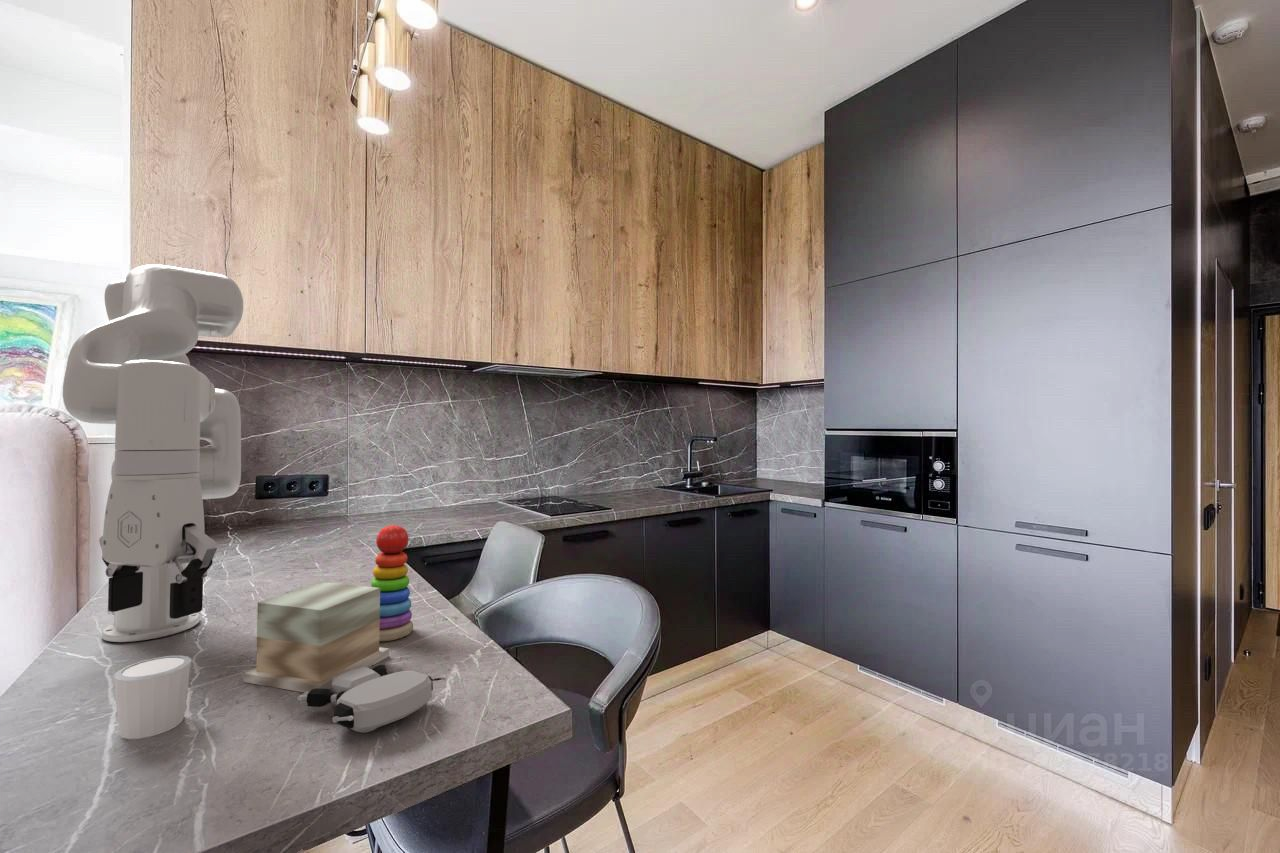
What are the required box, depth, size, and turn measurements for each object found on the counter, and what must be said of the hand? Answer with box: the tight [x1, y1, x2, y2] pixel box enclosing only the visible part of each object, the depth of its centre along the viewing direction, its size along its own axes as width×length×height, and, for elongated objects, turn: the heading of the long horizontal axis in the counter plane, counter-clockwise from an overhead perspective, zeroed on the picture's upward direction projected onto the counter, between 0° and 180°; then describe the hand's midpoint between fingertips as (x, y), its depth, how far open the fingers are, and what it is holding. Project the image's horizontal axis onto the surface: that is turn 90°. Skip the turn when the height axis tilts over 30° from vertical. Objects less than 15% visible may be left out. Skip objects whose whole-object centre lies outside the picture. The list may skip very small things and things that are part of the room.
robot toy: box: [296, 664, 448, 734], centre depth 68 cm, size 12×4×15 cm
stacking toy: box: [370, 524, 414, 642], centre depth 93 cm, size 8×8×19 cm
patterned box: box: [243, 581, 390, 694], centre depth 80 cm, size 13×13×11 cm
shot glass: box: [113, 655, 193, 740], centre depth 64 cm, size 7×7×7 cm
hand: (155, 611), depth 64 cm, fingers open, 9 cm apart
